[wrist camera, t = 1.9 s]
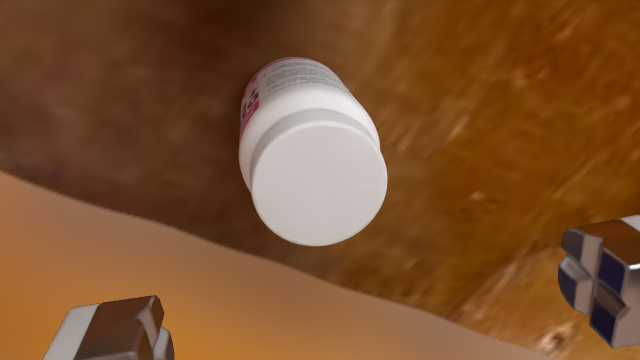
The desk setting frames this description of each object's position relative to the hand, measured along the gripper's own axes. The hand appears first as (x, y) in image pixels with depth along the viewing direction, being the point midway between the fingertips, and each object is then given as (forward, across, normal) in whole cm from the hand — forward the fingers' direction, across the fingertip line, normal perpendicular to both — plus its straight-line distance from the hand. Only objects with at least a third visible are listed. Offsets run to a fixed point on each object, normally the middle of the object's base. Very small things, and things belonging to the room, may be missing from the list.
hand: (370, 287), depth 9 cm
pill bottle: (+13, 0, 0) cm, 13 cm away
